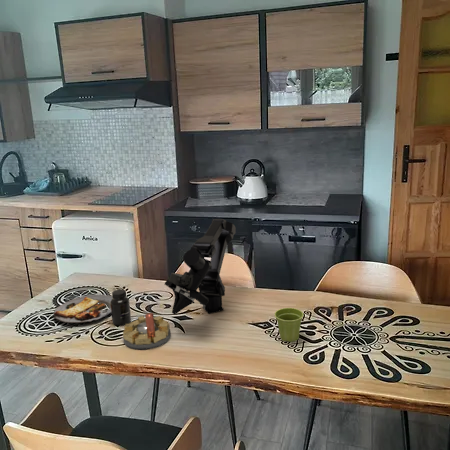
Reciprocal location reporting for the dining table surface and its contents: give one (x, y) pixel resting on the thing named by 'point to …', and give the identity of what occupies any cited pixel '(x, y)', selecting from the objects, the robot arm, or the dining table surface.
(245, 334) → the dining table surface
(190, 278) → the robot arm
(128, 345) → the flange
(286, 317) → the plant pot
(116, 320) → the supplement bottle
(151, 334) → the handwheel
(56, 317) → the food plate
